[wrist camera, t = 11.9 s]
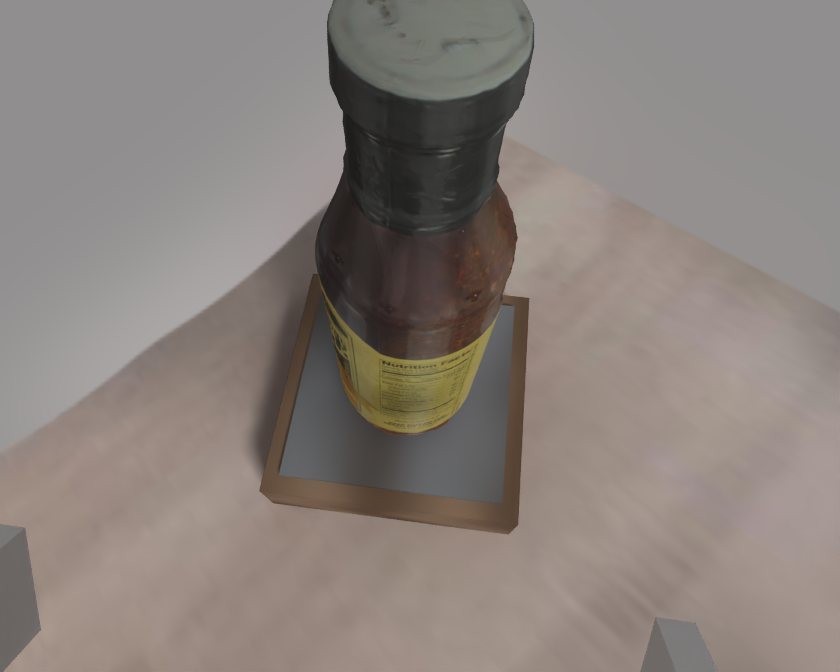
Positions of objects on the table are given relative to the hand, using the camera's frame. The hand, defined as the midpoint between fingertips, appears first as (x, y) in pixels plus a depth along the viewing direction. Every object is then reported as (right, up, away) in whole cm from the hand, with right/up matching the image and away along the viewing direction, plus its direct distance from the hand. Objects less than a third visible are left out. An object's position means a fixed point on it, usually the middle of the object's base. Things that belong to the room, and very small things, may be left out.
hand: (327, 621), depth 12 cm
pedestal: (+1, +2, +20) cm, 20 cm away
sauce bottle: (+1, +3, +17) cm, 17 cm away
